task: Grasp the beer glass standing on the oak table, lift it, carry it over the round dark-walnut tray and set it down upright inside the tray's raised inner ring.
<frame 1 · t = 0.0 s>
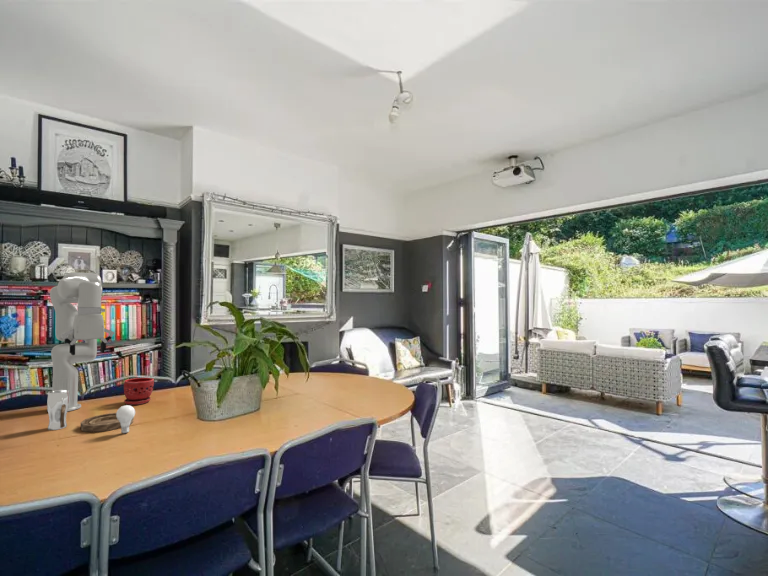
hand: (88, 353, 156), 31 cm above the table, fingers open, 9 cm apart
lightbulb: (125, 433, 153), on the table
beer glass: (57, 428, 159), on the table
tray: (107, 425, 162), on the table
plant pot: (138, 403, 198), on the table
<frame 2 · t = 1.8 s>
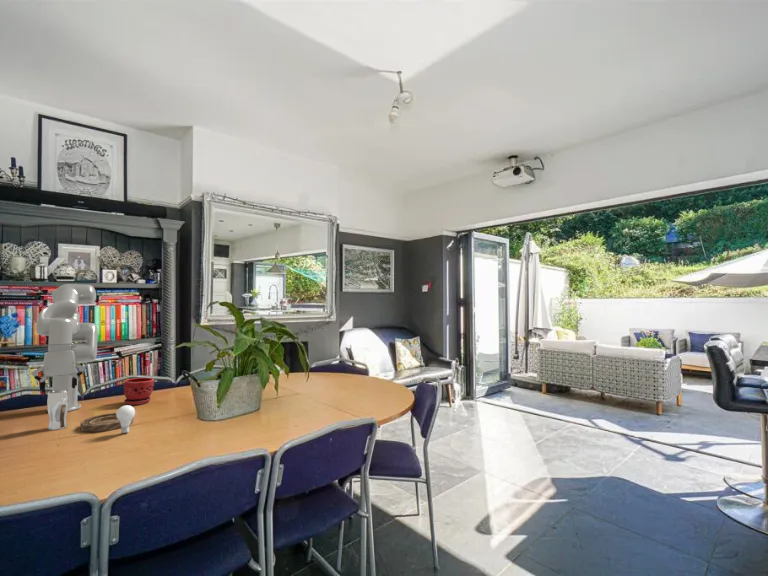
hand: (58, 389, 159), 16 cm above the table, fingers open, 9 cm apart
nothing on the table moved.
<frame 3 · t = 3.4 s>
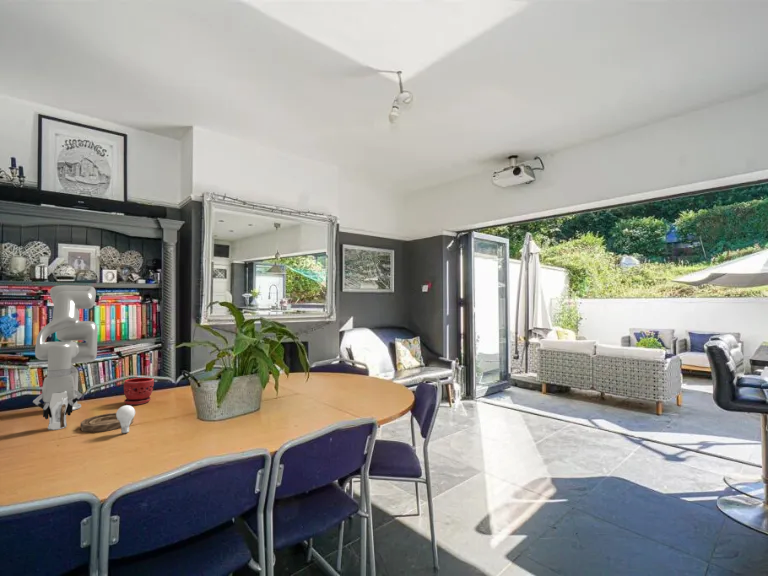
hand: (57, 416, 159), 5 cm above the table, fingers closed on beer glass, 6 cm apart
beer glass: (57, 428, 159), on the table, touching gripper
everything else where it was.
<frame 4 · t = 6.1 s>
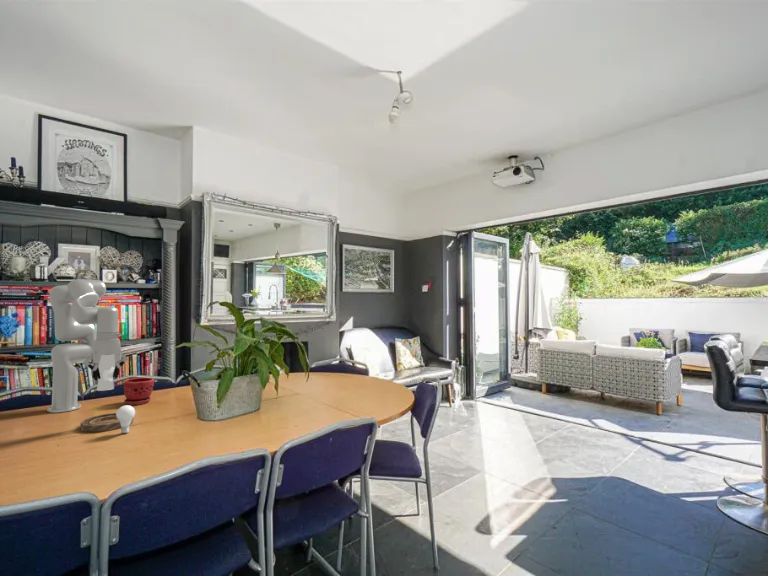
hand: (105, 378, 163), 20 cm above the table, fingers closed on beer glass, 6 cm apart
beer glass: (105, 389, 163), point 15 cm above the table, touching gripper
everything else where it was.
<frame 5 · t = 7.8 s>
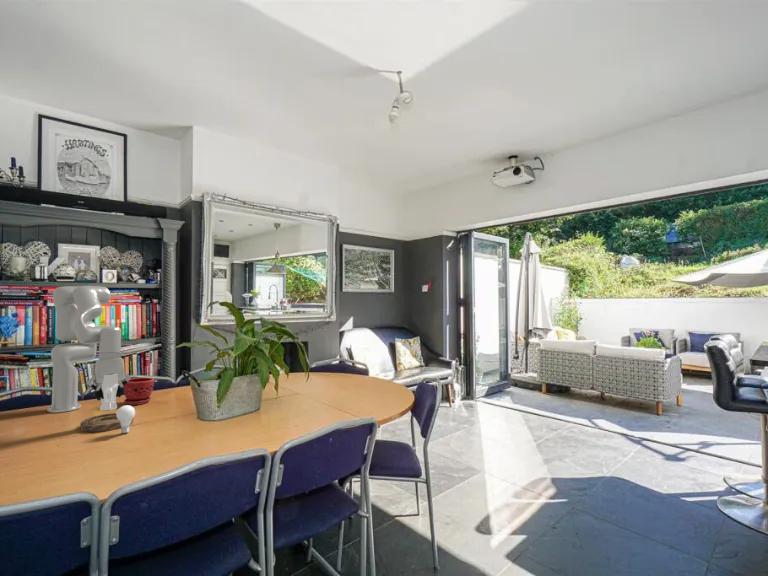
hand: (108, 397, 163), 11 cm above the table, fingers closed on beer glass, 6 cm apart
beer glass: (108, 409, 163), point 7 cm above the table, touching gripper
everything else where it was.
when the fingers open (6 cm above the table, at t = 9.3 s): beer glass stays where it is, resting on tray.
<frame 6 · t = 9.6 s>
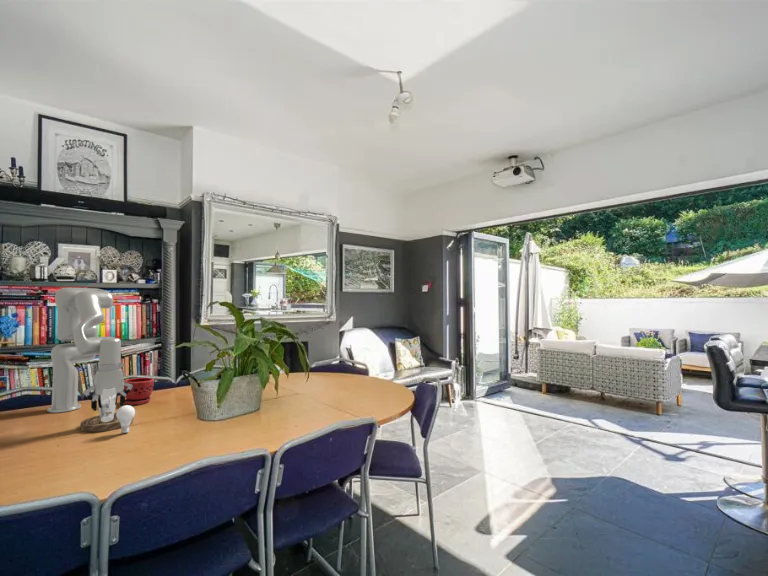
hand: (108, 407, 163), 7 cm above the table, fingers open, 9 cm apart
beer glass: (106, 423, 162), point 1 cm above the table, touching tray
everything else where it was.
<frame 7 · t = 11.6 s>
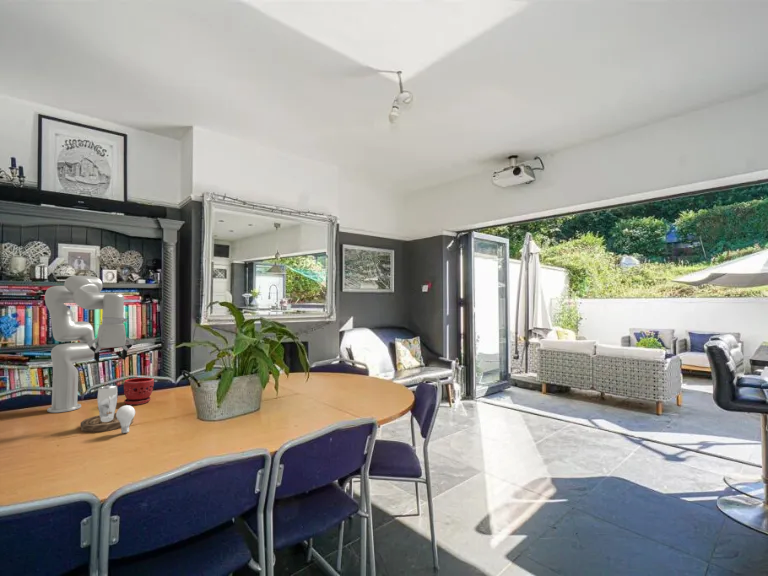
hand: (110, 360, 168), 27 cm above the table, fingers open, 9 cm apart
nothing on the table moved.
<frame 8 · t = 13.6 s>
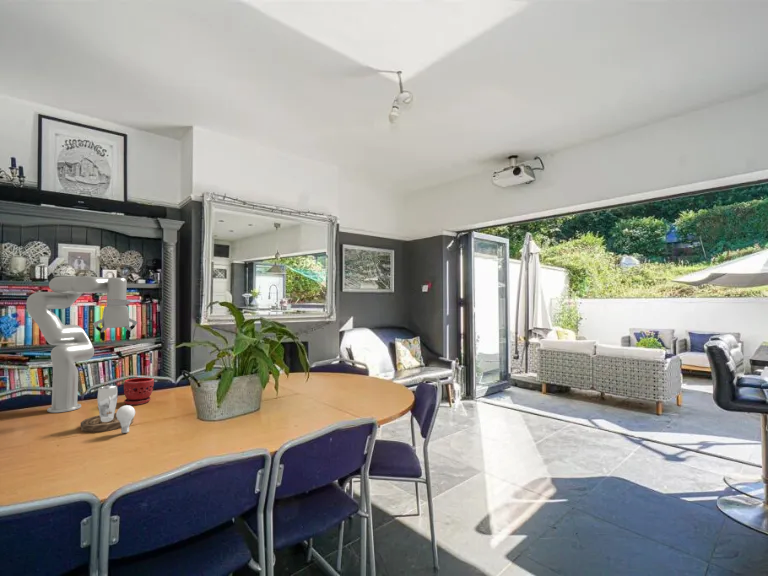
hand: (115, 340, 180), 34 cm above the table, fingers open, 9 cm apart
nothing on the table moved.
at the end: beer glass 0.4 cm from the tray (horizontally); beer glass tilted 0°; beer glass point 0.8 cm above the table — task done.
